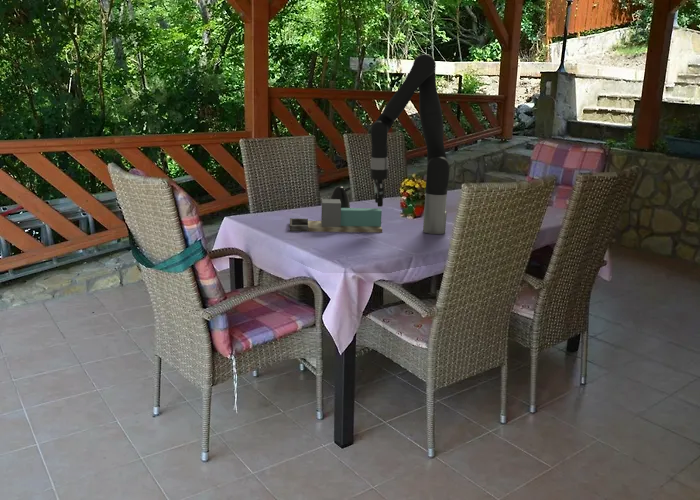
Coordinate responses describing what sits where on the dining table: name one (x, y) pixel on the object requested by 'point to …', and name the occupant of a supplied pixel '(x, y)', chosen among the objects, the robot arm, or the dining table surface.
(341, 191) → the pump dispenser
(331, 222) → the tunnel
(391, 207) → the dining table surface
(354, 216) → the teal pillar
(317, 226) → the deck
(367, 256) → the dining table surface
